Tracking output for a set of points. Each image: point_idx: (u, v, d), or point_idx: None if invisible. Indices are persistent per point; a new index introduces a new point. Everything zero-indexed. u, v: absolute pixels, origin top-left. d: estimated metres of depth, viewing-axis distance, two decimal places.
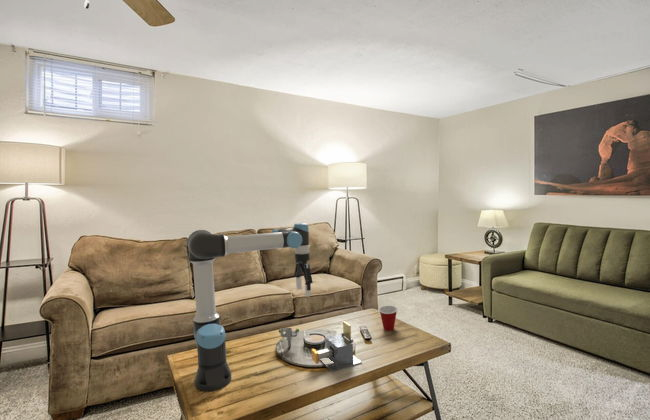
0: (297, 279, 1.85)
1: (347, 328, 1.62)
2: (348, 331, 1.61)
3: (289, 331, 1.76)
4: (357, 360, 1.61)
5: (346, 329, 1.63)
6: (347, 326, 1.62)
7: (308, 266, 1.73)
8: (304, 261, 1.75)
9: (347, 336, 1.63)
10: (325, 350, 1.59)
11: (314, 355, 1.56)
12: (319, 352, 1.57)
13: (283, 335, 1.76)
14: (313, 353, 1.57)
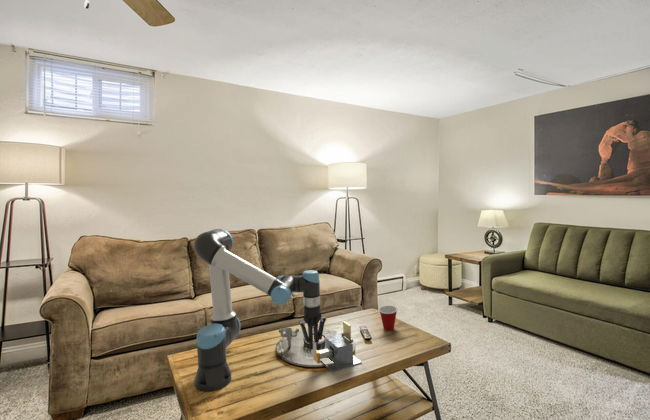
0: None
1: (347, 328, 1.62)
2: (348, 331, 1.61)
3: (289, 331, 1.76)
4: (357, 360, 1.61)
5: (346, 329, 1.63)
6: (347, 326, 1.62)
7: (301, 326, 1.52)
8: None
9: (347, 336, 1.63)
10: (326, 350, 1.59)
11: None
12: (320, 352, 1.57)
13: (283, 335, 1.76)
14: None
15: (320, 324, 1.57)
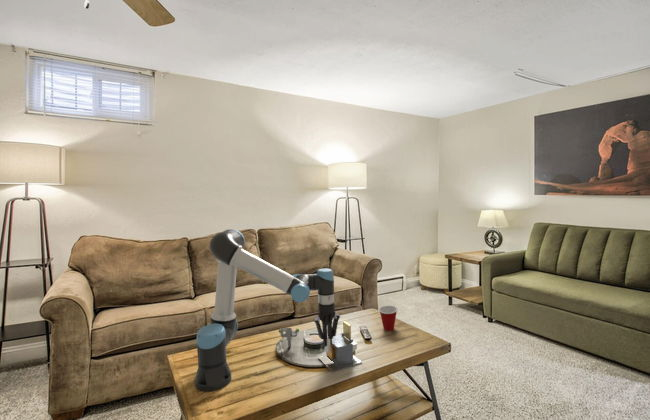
0: None
1: (347, 328, 1.62)
2: (348, 331, 1.61)
3: (289, 331, 1.76)
4: (357, 360, 1.61)
5: (346, 329, 1.63)
6: (347, 326, 1.62)
7: None
8: None
9: (347, 336, 1.63)
10: None
11: None
12: None
13: (283, 335, 1.76)
14: None
15: (334, 321, 1.60)
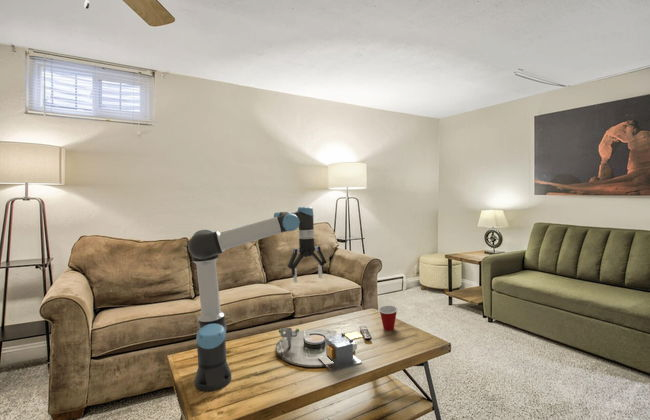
0: (318, 266, 1.74)
1: (357, 335, 1.65)
2: (356, 336, 1.64)
3: (289, 331, 1.76)
4: (357, 360, 1.61)
5: (354, 335, 1.65)
6: (359, 335, 1.65)
7: (294, 251, 1.66)
8: (299, 246, 1.68)
9: (350, 337, 1.63)
10: None
11: (329, 351, 1.59)
12: None
13: (283, 335, 1.76)
14: (328, 349, 1.60)
15: (318, 253, 1.73)
